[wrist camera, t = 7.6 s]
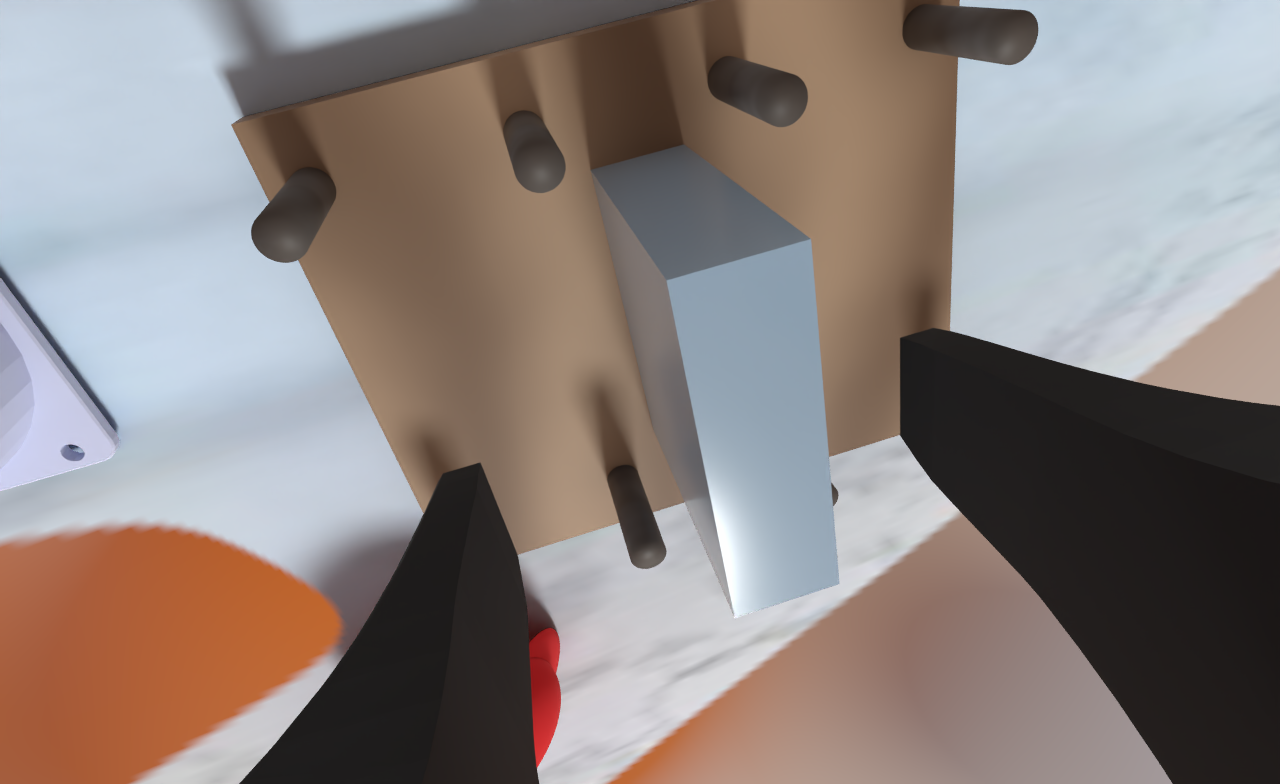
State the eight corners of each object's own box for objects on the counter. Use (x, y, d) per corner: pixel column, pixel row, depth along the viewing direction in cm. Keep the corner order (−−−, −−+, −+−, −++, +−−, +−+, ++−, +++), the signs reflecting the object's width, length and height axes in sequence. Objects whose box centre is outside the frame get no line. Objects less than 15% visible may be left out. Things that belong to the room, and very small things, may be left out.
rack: (453, 553, 24) (453, 663, 20) (242, 116, 16) (177, 160, 12) (930, 404, 25) (1015, 481, 21) (936, -62, 18) (1069, -71, 14)
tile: (653, 430, 22) (734, 618, 15) (590, 169, 17) (666, 280, 11) (728, 408, 22) (839, 584, 16) (684, 144, 18) (810, 238, 11)
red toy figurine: (358, 838, 25) (514, 903, 23) (275, 807, 20) (463, 887, 19) (462, 621, 29) (599, 664, 28) (415, 556, 25) (575, 602, 23)
